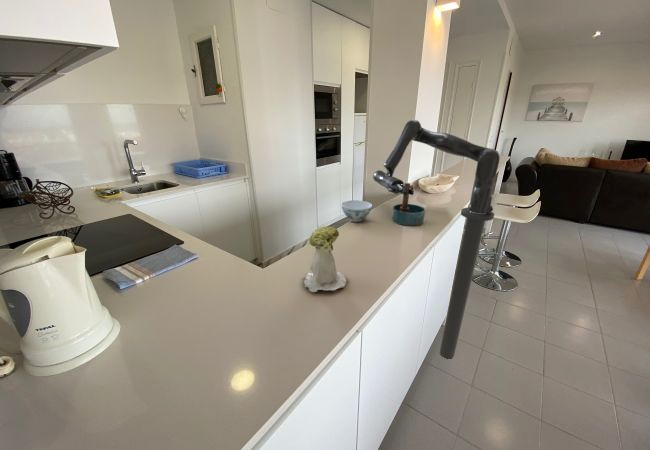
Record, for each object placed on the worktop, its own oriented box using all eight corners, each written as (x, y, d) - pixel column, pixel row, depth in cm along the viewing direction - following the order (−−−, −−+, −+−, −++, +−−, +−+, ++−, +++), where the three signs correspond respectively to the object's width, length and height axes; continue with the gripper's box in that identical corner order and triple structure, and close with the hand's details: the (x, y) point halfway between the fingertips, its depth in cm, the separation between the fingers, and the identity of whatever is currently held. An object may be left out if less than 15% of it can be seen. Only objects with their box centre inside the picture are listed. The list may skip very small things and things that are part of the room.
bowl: (422, 217, 142) (424, 205, 140) (424, 227, 128) (426, 214, 126) (392, 214, 146) (393, 202, 143) (391, 224, 132) (392, 211, 130)
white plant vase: (351, 291, 81) (354, 234, 74) (308, 297, 78) (307, 238, 72) (339, 271, 92) (341, 219, 85) (301, 275, 89) (300, 222, 82)
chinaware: (337, 215, 144) (337, 201, 141) (363, 213, 147) (364, 199, 144) (346, 226, 130) (347, 210, 127) (376, 223, 134) (377, 207, 131)
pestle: (408, 214, 139) (412, 182, 133) (408, 216, 135) (412, 184, 130) (399, 213, 140) (402, 182, 135) (399, 216, 137) (402, 184, 131)
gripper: (382, 178, 144) (396, 186, 128) (406, 177, 146) (424, 184, 131) (380, 192, 147) (395, 201, 131) (405, 191, 149) (421, 200, 133)
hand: (409, 193), depth 131 cm, fingers closed on pestle, 2 cm apart
